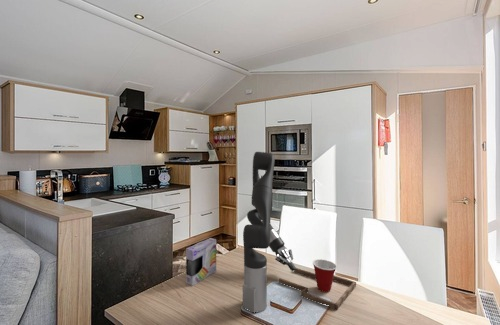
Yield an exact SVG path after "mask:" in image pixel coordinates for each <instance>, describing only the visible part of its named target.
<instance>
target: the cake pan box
mask: <svg viewBox="0 0 500 325" xmlns="http://www.w3.org/2000/svg"><path fill="white" fill-rule="evenodd" d="M185 270H186V271H185V282H186V285H188V286H191V287H194V286H195V285H196V284H198V283H200V282H201V281H203V280H204V279H206V278H208V277H209V276H211V275H212V274H213V273H215V272H216V271H217V239H216V238H212V237H210V238H207V239H205V240H202V241H200V242H198V243H195V244H194V245H192V246H189V247H186V249H185Z"/></svg>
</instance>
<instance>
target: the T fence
mask: <svg viewBox="0 0 500 325" xmlns="http://www.w3.org/2000/svg"><path fill="white" fill-rule="evenodd" d="M293 272H294V273H297V274H299V275H302V276H306V277H309V278H312V279H315V280H316V276H315V272H311V271H308V270H304V269H301V268H297V267H296V269H295V270H294V271H293ZM333 281H335V282H337V283H341V284H343V285H348V286H349V287H348V288H347V289H346V290H345V291H344V292H343V294H342V295H341V296H340V297H339V299H337V301H336V302H333V301H330V300H327V299H325V298H322V297H320V296H317V295H315V294H311V293H309V288H308V287H306V286H304V285H301V284H298V283H296V282H292V281H289V280H286V279H284V278H280V277H279V278H278V283H279V284H280V283H282V284H281V285H283V284H285V285H284V286H286V285H288V286H287V287H289V286H291V287H294V288H296V289H295V290H297V289H299V290H301V291H300V297H301V296H303V297H302V298H304V297H305V298H304V299H306V298H308V299H307V300H309V299H310V301H312V300H313V301H312V302H314V301H316V302H315V303H317V302H319V303H322V304H326V305H329V307H328V308H330V309H333V310H334V311H335V310H336V311H338V310H339V308H340V307H341V306H342V304H344V302H345V301H346V300H347V298H348V297H349V296H350V294H352V293H353V290H355V288H356V287H357V282H356V281H353V280H350V279H347V278H343V277H341V276H337V275H334V276H333ZM291 287H290V288H291ZM294 288H293V289H294ZM299 290H298V291H299ZM307 292H308V293H307ZM319 303H318V304H319ZM322 304H321V305H322Z"/></svg>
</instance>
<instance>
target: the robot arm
mask: <svg viewBox="0 0 500 325" xmlns="http://www.w3.org/2000/svg"><path fill="white" fill-rule="evenodd" d="M275 160H276V159H275V155H274V153H272V152H265V151H255V152H254V154H253V158H252V190H251V191H252V192H251V205H252V207H254V209H250V210H249V211H248V212H247V214H246V216H247V221H248V222H249V223H250V224H245V226H244V228H243V232H242V236H243V237H242V238H243V239H242V241H243V243H242V244H243V271H244V272H243V274H244V275H243V280H244V281H243V284H242V308H243V307H245V308H246V309H248V310H250V311H251V312H250V311H249V312H250V313H252V312H254V313H253V314H256V313H258V312H257V311H261V312H264V309H265V310H266V309H267V308H268V307H267V306H268V300H267V298H268V295H267V294H268V293H267V291H268V286H267V284H268V281H267V279H268V276H267V273H268V272H267V270H268V266H267V265H268V264H267V263H268V261H267V260H268V259H267V257H266V256H265V255H264V254H263V253H260V252H259V251H257V250H255V249H260V250H261V249H264V250H265V249H268V248H270V250H271V252H272V253H275V255H276V257H275V261H276V262H278V263H280V264H282V265H283V266H285V265H286V266H287V267H288V268H289V270H290V271H291V272H294V270H295V269H296V268H297V267H296V265H295V264H294V263H293V260H294V256H293V251H292V249H288V248H287V246H285V242H284V240H283V239H282V237H281V236H280V235H279V234H278V232H277V231H276V230H275V229H274V227H273V226H272V224H271V212H272V202H273V201H272V199H273V179H274V178H273V177H274V169H275V162H276V161H275ZM260 170H261V171H265V172H264V174H263V175H262V176H261V177H260V173H259V171H260ZM246 309H245V310H246ZM248 310H247V311H248ZM255 312H256V313H255Z"/></svg>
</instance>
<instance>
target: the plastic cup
mask: <svg viewBox="0 0 500 325" xmlns="http://www.w3.org/2000/svg"><path fill="white" fill-rule="evenodd" d="M312 265H313V268H314V269H313V271H314V274H315V276H316V279H315V282H316V287H317V290H318V291H319V292H323V293H329V292H331V290H332V285H333V281H334V280H333V276H335V272H336V270H337V269H338V266H337V264H336V263H334V262H332V261H330V260H326V259H314V260H313V261H312Z"/></svg>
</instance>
